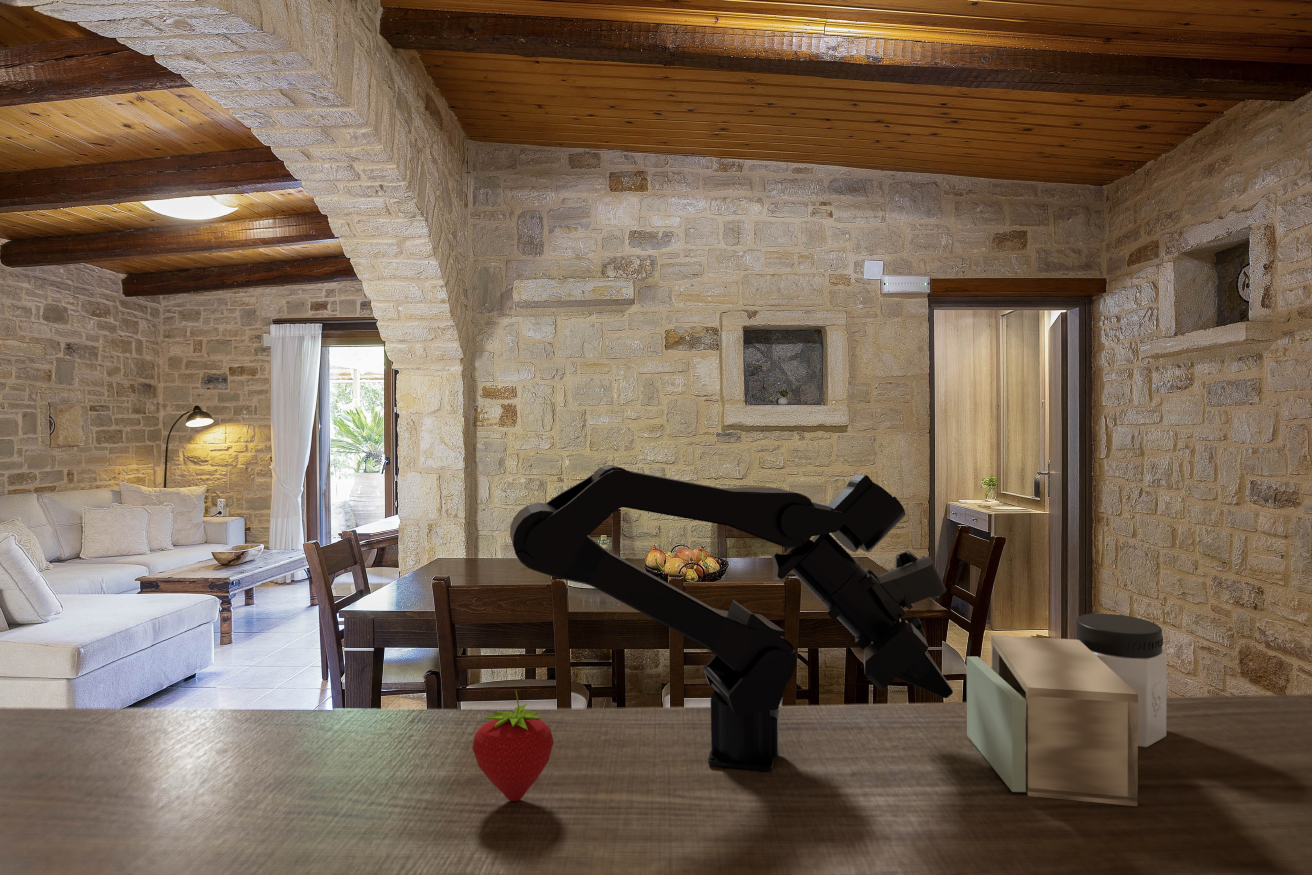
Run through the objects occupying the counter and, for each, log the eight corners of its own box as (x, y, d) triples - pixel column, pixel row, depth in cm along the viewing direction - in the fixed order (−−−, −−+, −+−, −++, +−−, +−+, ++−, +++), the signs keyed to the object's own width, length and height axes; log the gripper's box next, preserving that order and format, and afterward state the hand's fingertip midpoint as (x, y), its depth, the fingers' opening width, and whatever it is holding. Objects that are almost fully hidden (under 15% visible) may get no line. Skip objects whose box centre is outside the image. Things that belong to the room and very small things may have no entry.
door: (1012, 791, 68) (1012, 699, 68) (967, 735, 80) (966, 656, 80) (1025, 791, 68) (1025, 699, 68) (978, 735, 80) (977, 656, 80)
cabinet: (1028, 795, 68) (1028, 687, 68) (991, 723, 84) (991, 635, 83) (1137, 806, 66) (1137, 694, 66) (1078, 730, 81) (1078, 639, 81)
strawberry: (482, 784, 72) (479, 683, 72) (558, 782, 72) (556, 682, 72) (466, 817, 66) (463, 707, 66) (550, 815, 66) (547, 706, 66)
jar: (1139, 754, 76) (1139, 639, 75) (1059, 727, 82) (1059, 621, 82) (1177, 732, 80) (1178, 624, 80) (1099, 708, 87) (1099, 608, 87)
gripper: (903, 546, 68) (1033, 675, 65) (890, 519, 86) (991, 619, 83) (815, 625, 70) (938, 753, 67) (821, 582, 88) (918, 681, 85)
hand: (949, 694), depth 76 cm, fingers closed
